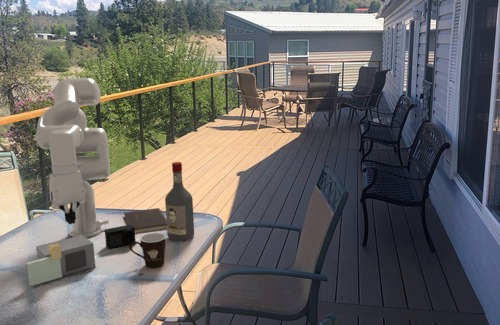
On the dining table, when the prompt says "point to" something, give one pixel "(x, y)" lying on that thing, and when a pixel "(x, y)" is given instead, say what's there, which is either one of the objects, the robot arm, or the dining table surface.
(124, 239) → the digital camera
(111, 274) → the dining table surface
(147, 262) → the coffee mug
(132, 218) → the hardcover book
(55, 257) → the side door
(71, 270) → the box
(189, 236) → the liquor
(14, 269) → the dining table surface
